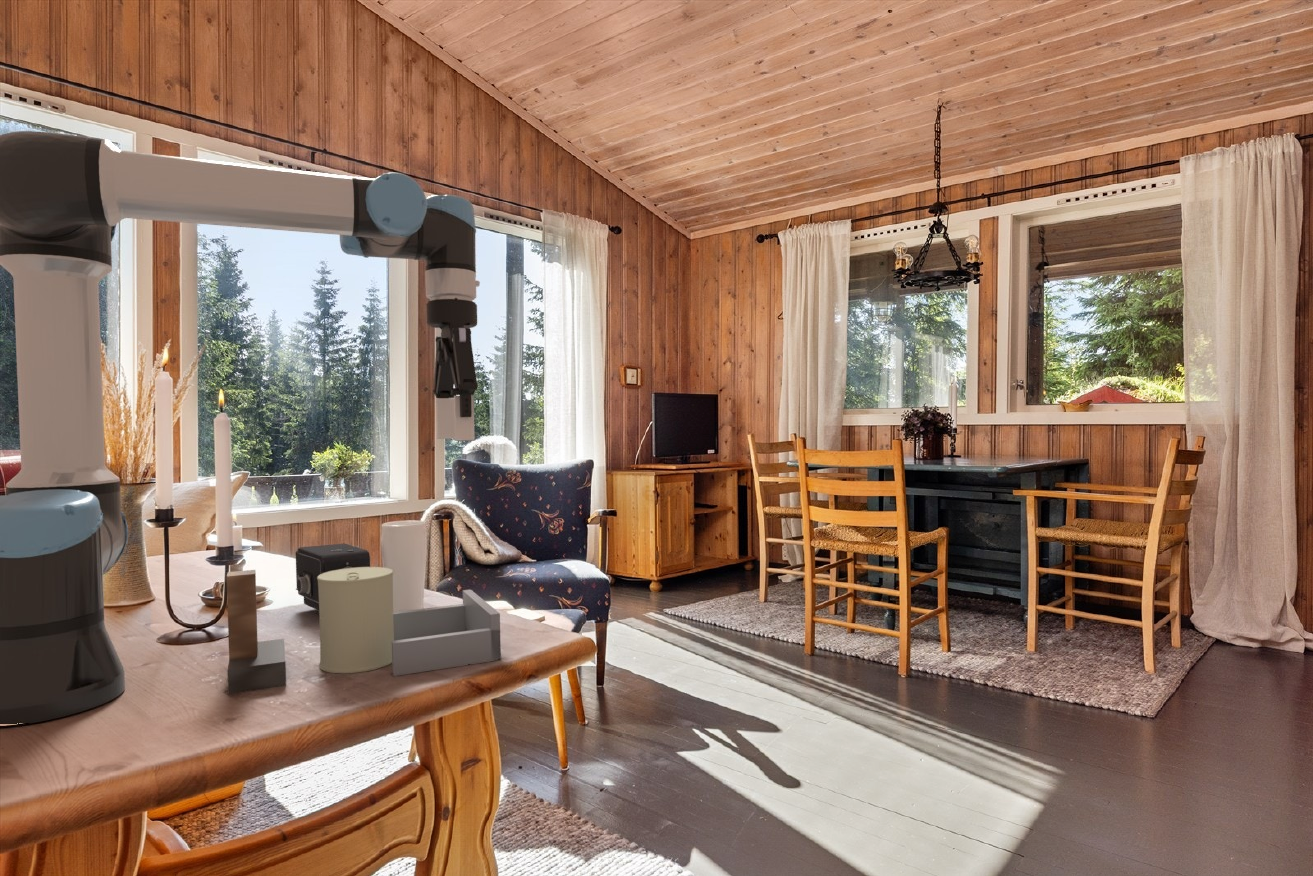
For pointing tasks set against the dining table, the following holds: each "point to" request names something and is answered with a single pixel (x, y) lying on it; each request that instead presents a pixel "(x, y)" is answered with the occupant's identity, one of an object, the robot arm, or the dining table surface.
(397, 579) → the drinking glass
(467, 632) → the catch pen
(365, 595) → the can
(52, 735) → the dining table surface
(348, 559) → the camera
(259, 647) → the scraper
